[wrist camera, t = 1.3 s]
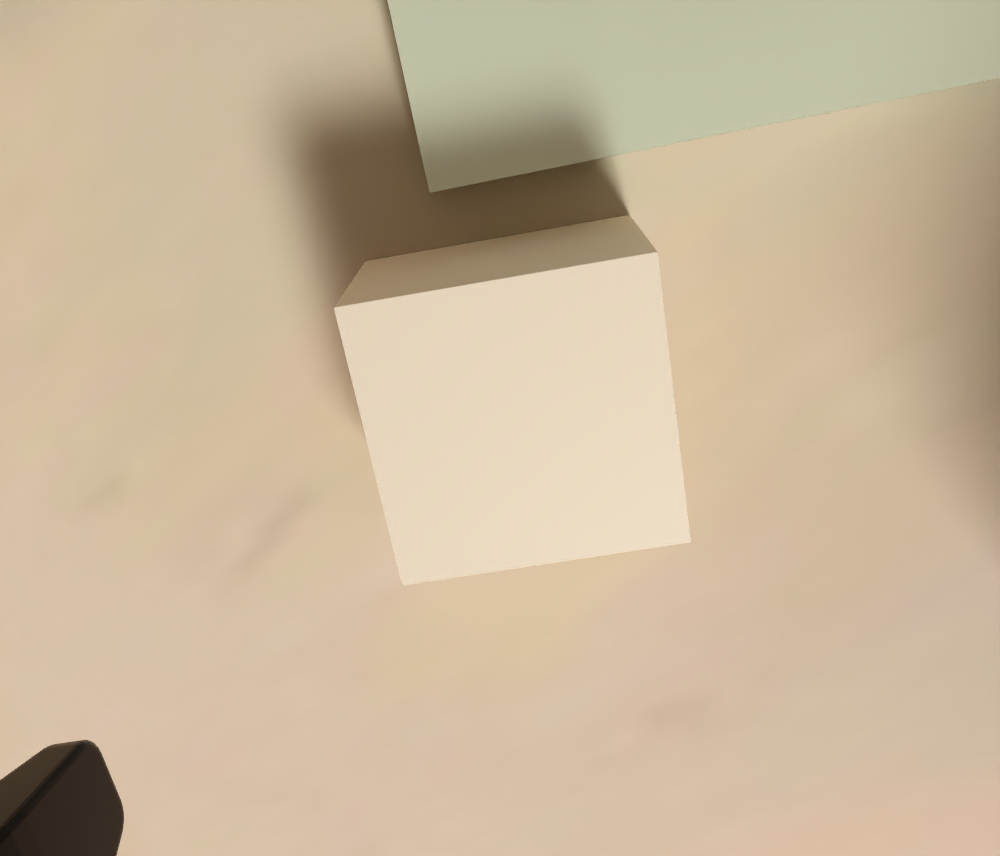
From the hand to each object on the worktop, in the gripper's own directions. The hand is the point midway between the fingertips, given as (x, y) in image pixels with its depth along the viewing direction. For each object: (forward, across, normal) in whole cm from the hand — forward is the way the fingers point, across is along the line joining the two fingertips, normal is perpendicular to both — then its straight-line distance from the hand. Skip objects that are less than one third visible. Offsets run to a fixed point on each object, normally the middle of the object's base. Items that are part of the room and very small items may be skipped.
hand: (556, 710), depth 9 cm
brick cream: (+12, 0, 0) cm, 12 cm away
